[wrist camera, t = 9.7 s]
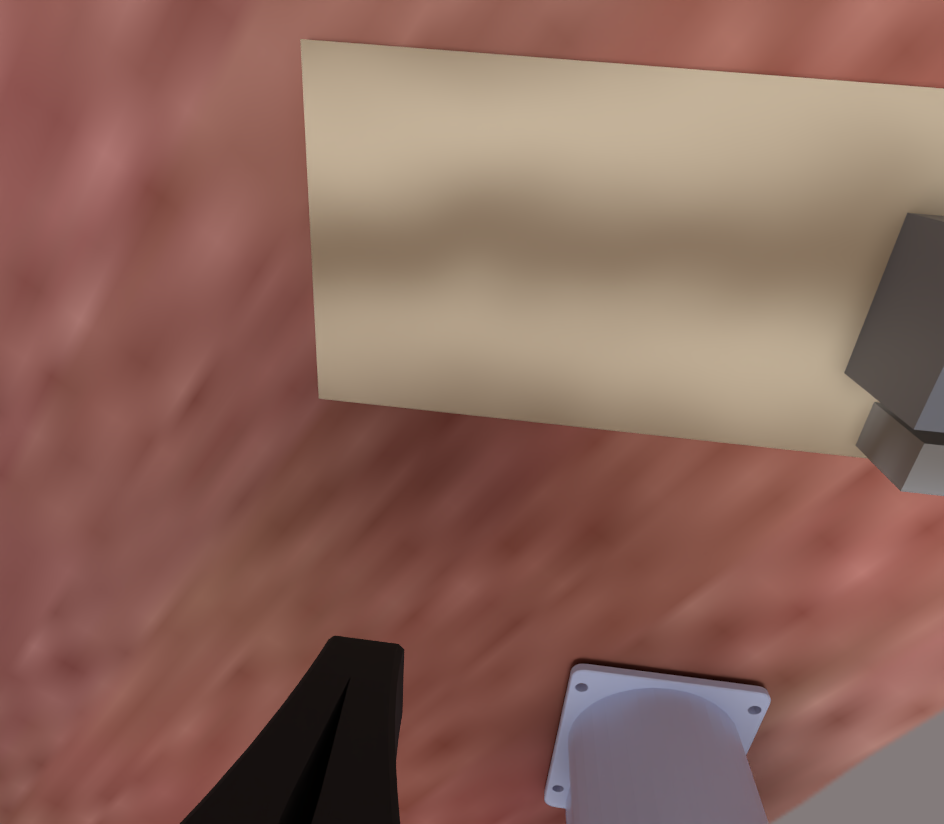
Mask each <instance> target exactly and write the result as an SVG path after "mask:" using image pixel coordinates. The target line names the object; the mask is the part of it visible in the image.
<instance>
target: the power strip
mask: <svg viewBox="0 0 944 824" xmlns="http://www.w3.org/2000/svg"><path fill="white" fill-rule="evenodd" d="M844 373H845V374H846V375H847V376H848V377H850V378H851V379H852V380H853V381H855V382H856V383H857V384H858V385H859V386H861V387H862V388H863V389H864V390H866V391H867V392H868V393H869V394H871V395H872V396H873V397H874V398H875V399H877V400H878V401H879V402H880V403H882V404H883V405H884V406H885V407H887V408H888V409H889V410H890V411H891V412H893V413H894V414H895V415H896V416H898V417H899V418H900V419H901V420H903V421H904V422H905V423H906V424H907V425H909V426H910V427H911V428H912V429H914V430H923V431H933V432H942V433H944V216H939V215H928V214H916V213H907V215H906V217H905V220H904V222H903V225H902V227H901V230H900V233H899V235H898V238H897V240H896V243H895V245H894V248H893V250H892V253H891V255H890V258H889V260H888V263H887V266H886V268H885V271H884V273H883V276H882V278H881V281H880V283H879V286H878V288H877V291H876V293H875V296H874V299H873V301H872V304H871V306H870V309H869V311H868V314H867V316H866V319H865V321H864V324H863V326H862V329H861V332H860V334H859V337H858V339H857V342H856V344H855V347H854V349H853V352H852V354H851V357H850V359H849V362H848V365H847V367H846V370H845V372H844Z"/></svg>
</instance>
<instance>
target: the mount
mask: <svg viewBox="0 0 944 824" xmlns="http://www.w3.org/2000/svg"><path fill="white" fill-rule="evenodd" d="M300 40H301V59H302V79H303V99H304V118H305V138H306V157H307V177H308V196H309V216H310V236H311V255H312V275H313V294H314V314H315V334H316V353H317V373H318V392H319V399H327V400H336V401H345V402H355V403H364V404H373V405H382V406H391V407H401V408H410V409H419V410H428V411H437V412H447V413H456V414H465V415H474V416H483V417H492V418H502V419H511V420H520V421H529V422H538V423H548V424H557V425H566V426H575V427H584V428H594V429H603V430H612V431H621V432H630V433H640V434H649V435H658V436H667V437H676V438H685V439H695V440H704V441H713V442H722V443H731V444H741V445H750V446H759V447H768V448H777V449H787V450H796V451H805V452H814V453H823V454H832V455H842V456H851V457H860V458H868V459H869V460H870V461H871V462H872V463H873V464H874V465H875V466H876V467H877V468H878V469H879V470H880V471H881V472H882V473H883V474H884V475H885V476H886V477H887V478H888V479H889V480H890V481H891V482H892V483H893V484H894V485H895V486H896V487H897V488H898V489H899V490H900V491H904V492H913V493H922V494H931V495H940V496H944V433H942V432H933V431H923V430H914V429H912V428H911V427H910V426H909V425H907V424H906V423H905V422H904V421H903V420H901V419H900V418H899V417H898V416H896V415H895V414H894V413H893V412H891V411H890V410H889V409H888V408H887V407H885V406H884V405H883V404H882V403H880V402H879V401H878V400H877V399H875V398H874V397H873V396H872V395H871V394H869V393H868V392H867V391H866V390H864V389H863V388H862V387H861V386H859V385H858V384H857V383H856V382H855V381H853V380H852V379H851V378H850V377H848V376H847V375H846V374H845V373H844V372H845V370H846V367H847V365H848V362H849V359H850V357H851V354H852V352H853V349H854V347H855V344H856V342H857V339H858V337H859V334H860V332H861V329H862V326H863V324H864V321H865V319H866V316H867V314H868V311H869V309H870V306H871V304H872V301H873V299H874V296H875V293H876V291H877V288H878V286H879V283H880V281H881V278H882V276H883V273H884V271H885V268H886V266H887V263H888V260H889V258H890V255H891V253H892V250H893V248H894V245H895V243H896V240H897V238H898V235H899V233H900V230H901V227H902V225H903V222H904V220H905V217H906V215H907V213H916V214H928V215H939V216H944V89H942V88H929V87H916V86H903V85H890V84H877V83H864V82H851V81H838V80H825V79H812V78H799V77H786V76H773V75H760V74H747V73H734V72H721V71H708V70H695V69H682V68H669V67H656V66H643V65H630V64H617V63H604V62H591V61H578V60H565V59H552V58H539V57H526V56H513V55H500V54H487V53H474V52H461V51H448V50H435V49H422V48H409V47H396V46H383V45H370V44H357V43H344V42H331V41H318V40H305V39H300Z"/></svg>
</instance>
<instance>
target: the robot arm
mask: <svg viewBox="0 0 944 824" xmlns="http://www.w3.org/2000/svg"><path fill="white" fill-rule="evenodd" d="M403 672H404V649H403V648H402V647H401V646H400V645H399V644H394V643H387V642H379V641H371V640H364V639H356V638H348V637H341V636H333V637H332V638H330V639H329V640H328V641H327V643H326V644H325V646H324V648H323V649H322V651H321V652H320V654H319V655H318V657H317V658H316V660H315V661H314V662H313V664H312V665H311V667H310V668H309V670H308V671H307V672H306V674H305V675H304V677H303V678H302V679H301V681H300V682H299V684H298V685H297V686H296V688H295V689H294V690H293V692H292V693H291V694H290V696H289V697H288V698H287V700H286V701H285V702H284V704H283V705H282V706H281V707H280V709H279V710H278V711H277V712H276V714H275V715H274V716H273V717H272V719H271V720H270V721H269V722H268V724H267V725H266V726H265V727H264V729H263V730H262V731H261V732H260V734H259V735H258V736H257V737H256V739H255V740H254V741H253V742H252V744H251V745H250V746H249V747H248V748H247V750H246V751H245V752H244V753H243V754H242V755H241V756H240V758H239V759H238V760H237V761H236V762H235V763H234V764H233V766H232V767H231V768H230V769H229V770H228V771H227V772H226V774H225V775H224V776H223V777H222V778H221V779H220V780H219V782H218V783H217V784H216V785H215V786H214V787H213V789H212V790H211V791H210V792H209V793H208V794H207V795H206V796H205V797H204V798H203V799H202V801H201V802H200V803H199V804H198V805H197V806H196V807H195V808H194V809H193V810H192V811H191V812H190V813H189V814H188V815H187V817H186V818H185V819H184V820H183V821H182V822H181V823H180V824H400V817H399V805H398V793H397V777H396V756H397V747H398V738H399V731H400V724H401V718H402V707H403ZM580 683H583V684H580ZM770 702H771V698H770V696H769V693H768V691H767V690H766V689H765V688H764V687H760V686H755V685H747V684H739V683H731V682H724V681H716V680H708V679H700V678H693V677H685V676H677V675H670V674H662V673H654V672H646V671H639V670H631V669H623V668H615V667H608V666H600V665H592V664H577V665H575V666H574V667H573V668H572V669H571V672H570V677H569V682H568V686H567V691H566V695H565V700H564V705H563V709H562V714H561V718H560V723H559V727H558V732H557V737H556V741H555V746H554V750H553V755H552V759H551V764H550V769H549V773H548V778H547V782H546V787H545V791H544V799H545V802H546V803H547V804H548V805H550V806H553V807H559V808H566V824H769V823H768V820H767V817H766V814H765V811H764V808H763V805H762V802H761V799H760V796H759V793H758V790H757V787H756V784H755V781H754V778H753V775H752V772H751V769H750V766H749V763H748V760H747V757H746V755H747V752H748V750H749V748H750V746H751V744H752V742H753V739H754V737H755V735H756V733H757V731H758V729H759V726H760V724H761V722H762V720H763V718H764V716H765V713H766V711H767V709H768V707H769V705H770Z"/></svg>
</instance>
